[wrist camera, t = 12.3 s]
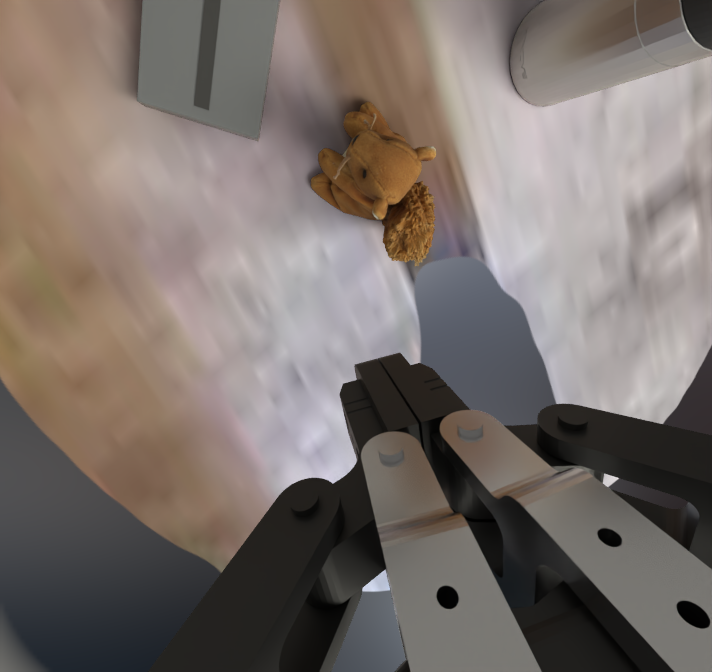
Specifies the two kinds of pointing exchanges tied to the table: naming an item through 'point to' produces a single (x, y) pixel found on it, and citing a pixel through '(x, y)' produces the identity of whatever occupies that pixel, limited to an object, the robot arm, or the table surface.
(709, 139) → the table surface
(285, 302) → the table surface
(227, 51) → the fader panel
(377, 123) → the stuffed squirrel
